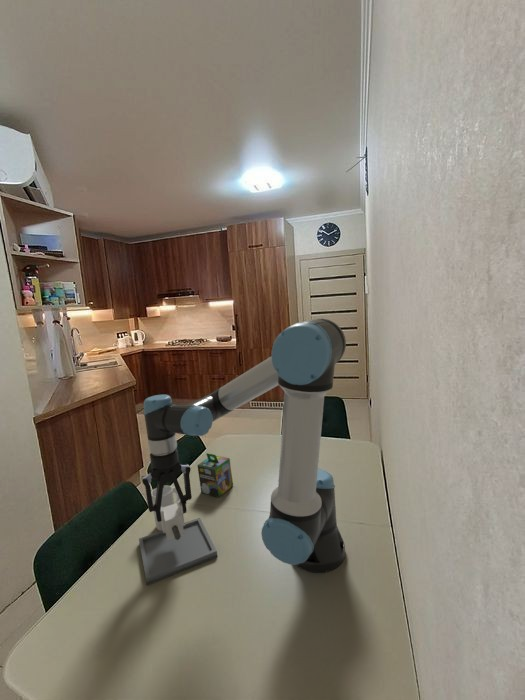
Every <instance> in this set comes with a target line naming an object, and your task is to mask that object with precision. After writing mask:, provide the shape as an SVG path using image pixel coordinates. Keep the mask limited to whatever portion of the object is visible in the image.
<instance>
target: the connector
mask: <svg viewBox="0 0 525 700" xmlns="http://www.w3.org/2000/svg"><path fill="white" fill-rule="evenodd" d="M163 512H164V520H165V528H166V532H165V533H166V537H167V540H171V539H174V538H175V539H176V540H179V539H180V538H181V536H182V535H184V530H183V521H182V515H181V512H180V510H179V508H178V505H177V503H176V502H175V503H174V504H172V505H169V506H166V507H163Z"/></svg>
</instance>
